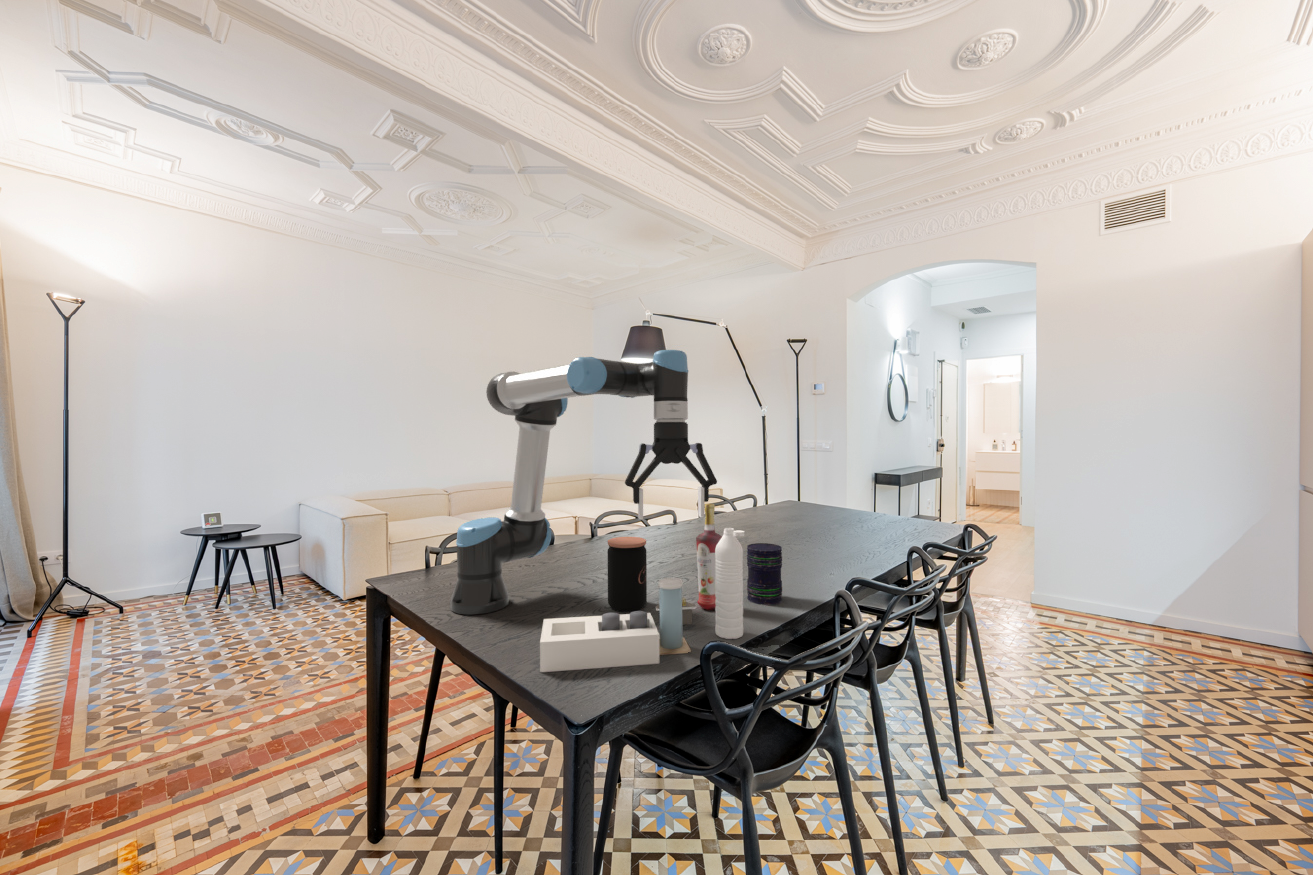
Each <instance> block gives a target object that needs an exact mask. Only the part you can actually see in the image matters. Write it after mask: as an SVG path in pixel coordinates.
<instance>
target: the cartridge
mask: <svg viewBox="0 0 1313 875" xmlns="http://www.w3.org/2000/svg"><path fill="white" fill-rule="evenodd" d="M683 585H684V584H683V580H682V579H681V578H677V577H663V578H661V579H658V581H657V587H658V590H659V591H658V596H659V599H658V600H659V601H658V602H659V603H658V604H660V611H659V639H660V646H661V647H663V648H666V649H677V648H680V647H682V645H683V631H684V630H683V625H682V602H683V600H682V597H683Z"/></svg>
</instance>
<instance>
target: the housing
mask: <svg viewBox="0 0 1313 875" xmlns="http://www.w3.org/2000/svg"><path fill="white" fill-rule="evenodd" d="M646 613H647V628H642V629H630V613H626V614H622V613H621V614H619V615H620V630H611V631H602V615H591V616H588V615H587V616H575V617H574V616H571V617H570V616H569V617H555V618H543V622H542V629H541V632H540V633H541V635H540V640H539V672H540V673H548V672H549V673H550V672H561V671H562V672H563V671H577V670H588V669H589V670H591V669H592V670H593V669H605V668H615V667H617V668H618V667H630V666H643V665H644V666H645V665H656V664H658V665H659V664H660V655H659V639H660V632H659V630H658V628H657V626H656V624H655V620H654V618H653V616H652V614H651V612H646Z"/></svg>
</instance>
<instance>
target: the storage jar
mask: <svg viewBox="0 0 1313 875" xmlns="http://www.w3.org/2000/svg"><path fill="white" fill-rule="evenodd" d="M746 550H747V551H746V560H747V561H746V565H747V579H746V580H747V581H746V584H747V585H746V591H747V592H746V593H747V597H746V598H747V600H748V601H749V602H750V603H753V604H756V605H761V604H762V606H771V605H772V606H773V605H778V604H780V603H783V602H782V601H783V598H782V596H783V581H782V568H783V556H782V555H783V554H782V551H783V547H782V546H781V545H778V544H773V543H768V542H767V543H766V542H764V543H763V542H762V543H761V542H757V543H755V542H754V543H749V544H748V545H747V546H746Z"/></svg>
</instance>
